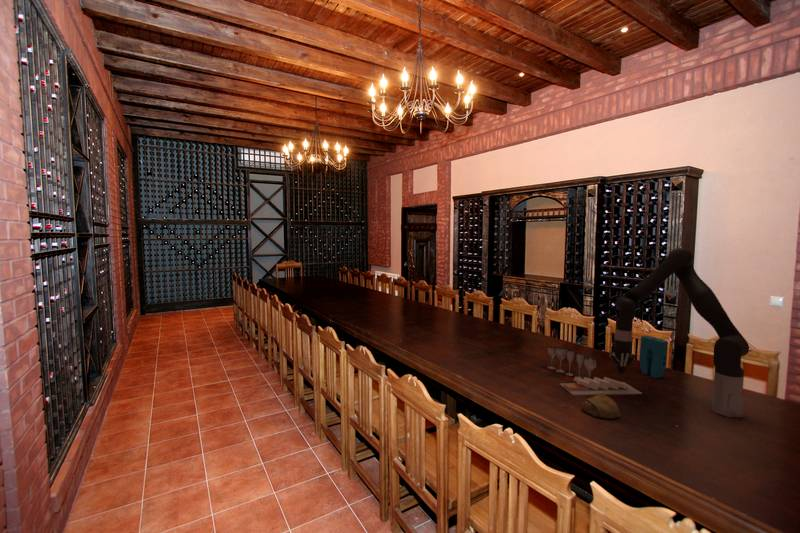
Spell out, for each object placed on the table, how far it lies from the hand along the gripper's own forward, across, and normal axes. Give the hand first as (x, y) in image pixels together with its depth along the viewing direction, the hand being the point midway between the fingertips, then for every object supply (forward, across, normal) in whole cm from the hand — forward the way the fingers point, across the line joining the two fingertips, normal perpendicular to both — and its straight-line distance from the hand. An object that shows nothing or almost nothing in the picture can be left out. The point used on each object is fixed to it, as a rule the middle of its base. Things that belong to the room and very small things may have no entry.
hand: (621, 373), depth 184 cm
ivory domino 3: (+7, +3, 0) cm, 7 cm away
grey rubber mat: (+8, +10, 0) cm, 13 cm away
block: (+8, -30, -17) cm, 35 cm away
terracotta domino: (+7, +18, 0) cm, 19 cm away
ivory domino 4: (+7, -2, 0) cm, 7 cm away
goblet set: (+8, +15, -20) cm, 26 cm away
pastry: (+8, +24, +23) cm, 35 cm away
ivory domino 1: (+7, +13, 0) cm, 14 cm away
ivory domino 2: (+7, +8, 0) cm, 10 cm away
